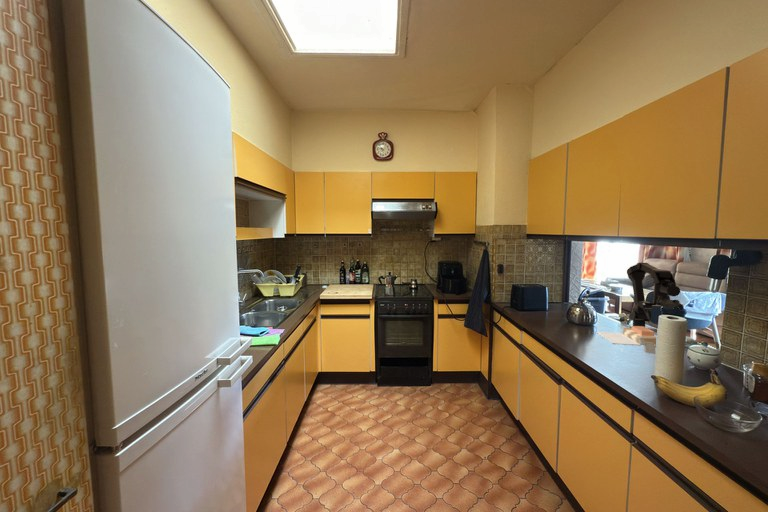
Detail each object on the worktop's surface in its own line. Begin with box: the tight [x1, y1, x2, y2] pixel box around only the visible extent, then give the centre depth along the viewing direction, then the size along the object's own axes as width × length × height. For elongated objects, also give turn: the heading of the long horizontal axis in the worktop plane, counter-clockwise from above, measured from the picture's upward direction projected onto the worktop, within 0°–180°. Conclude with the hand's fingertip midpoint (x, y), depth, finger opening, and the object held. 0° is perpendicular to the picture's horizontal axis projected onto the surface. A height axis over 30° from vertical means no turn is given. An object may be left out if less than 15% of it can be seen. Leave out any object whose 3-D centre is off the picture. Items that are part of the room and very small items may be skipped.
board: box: [622, 327, 657, 346], centre depth 169 cm, size 16×9×4 cm, turn 169°
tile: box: [631, 325, 655, 336], centre depth 168 cm, size 9×6×2 cm, turn 169°
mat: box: [596, 331, 641, 346], centre depth 171 cm, size 18×13×1 cm
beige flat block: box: [638, 336, 657, 354], centre depth 152 cm, size 7×2×8 cm, turn 67°
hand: (659, 320), depth 166 cm, fingers open, 9 cm apart
